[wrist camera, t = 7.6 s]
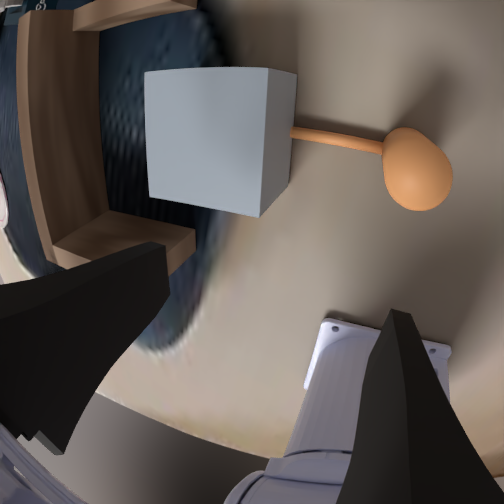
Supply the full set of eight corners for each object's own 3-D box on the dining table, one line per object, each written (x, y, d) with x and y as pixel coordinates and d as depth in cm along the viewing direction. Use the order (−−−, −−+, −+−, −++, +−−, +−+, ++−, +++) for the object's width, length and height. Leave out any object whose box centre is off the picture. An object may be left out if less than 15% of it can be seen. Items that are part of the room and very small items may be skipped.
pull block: (440, 101, 11) (467, 105, 8) (417, 214, 14) (429, 257, 11) (196, 71, 15) (144, 72, 11) (196, 171, 18) (149, 196, 14)
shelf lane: (198, -15, 12) (126, -41, 7) (196, 250, 21) (142, 301, 16) (86, 17, 15) (19, 18, 10) (99, 224, 24) (46, 259, 19)
